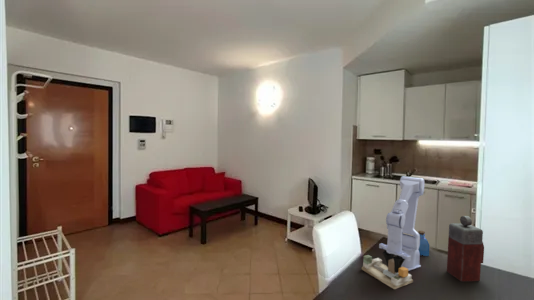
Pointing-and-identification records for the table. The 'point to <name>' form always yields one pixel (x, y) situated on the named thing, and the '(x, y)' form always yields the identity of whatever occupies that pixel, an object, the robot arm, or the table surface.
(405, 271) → the orange cardboard cube
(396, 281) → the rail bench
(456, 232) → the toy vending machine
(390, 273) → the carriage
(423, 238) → the perfume bottle
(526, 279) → the table surface
